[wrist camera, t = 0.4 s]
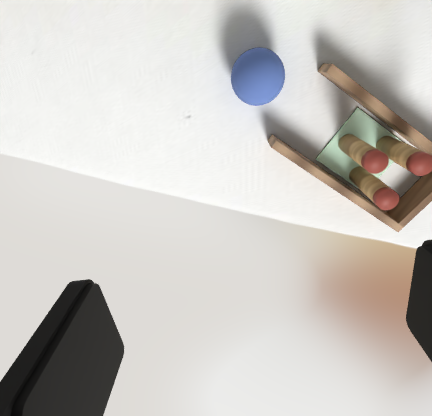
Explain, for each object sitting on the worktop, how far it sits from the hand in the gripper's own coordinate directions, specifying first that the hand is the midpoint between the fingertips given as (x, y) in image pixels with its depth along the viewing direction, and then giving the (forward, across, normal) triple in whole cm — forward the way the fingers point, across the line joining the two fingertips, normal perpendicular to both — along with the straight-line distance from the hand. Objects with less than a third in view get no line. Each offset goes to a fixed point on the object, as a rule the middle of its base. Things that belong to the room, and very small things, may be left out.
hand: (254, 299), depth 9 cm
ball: (+30, -4, -4) cm, 31 cm away
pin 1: (+33, -16, +11) cm, 39 cm away
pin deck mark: (+33, -17, +8) cm, 38 cm away
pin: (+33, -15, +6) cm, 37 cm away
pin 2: (+33, -20, +7) cm, 39 cm away
